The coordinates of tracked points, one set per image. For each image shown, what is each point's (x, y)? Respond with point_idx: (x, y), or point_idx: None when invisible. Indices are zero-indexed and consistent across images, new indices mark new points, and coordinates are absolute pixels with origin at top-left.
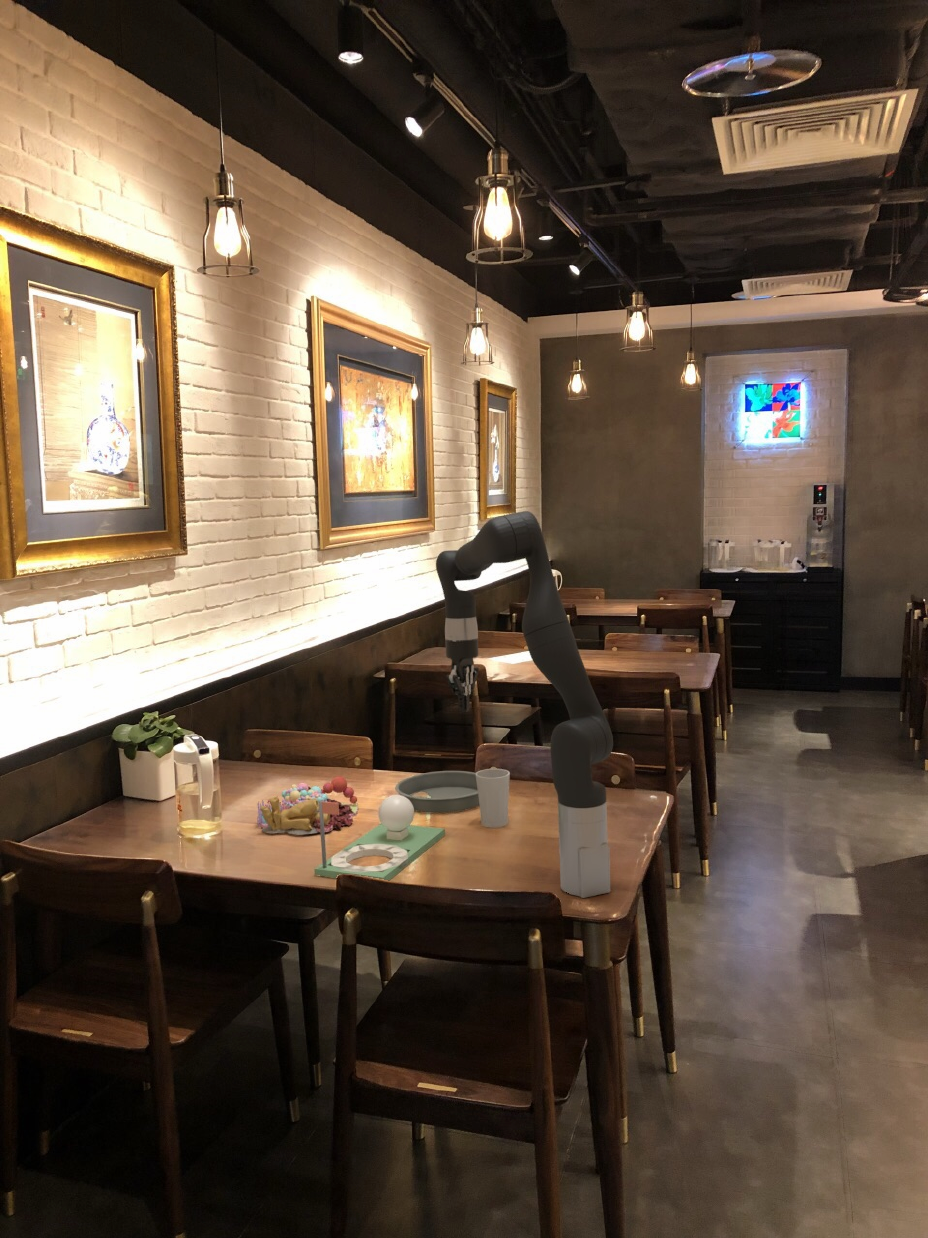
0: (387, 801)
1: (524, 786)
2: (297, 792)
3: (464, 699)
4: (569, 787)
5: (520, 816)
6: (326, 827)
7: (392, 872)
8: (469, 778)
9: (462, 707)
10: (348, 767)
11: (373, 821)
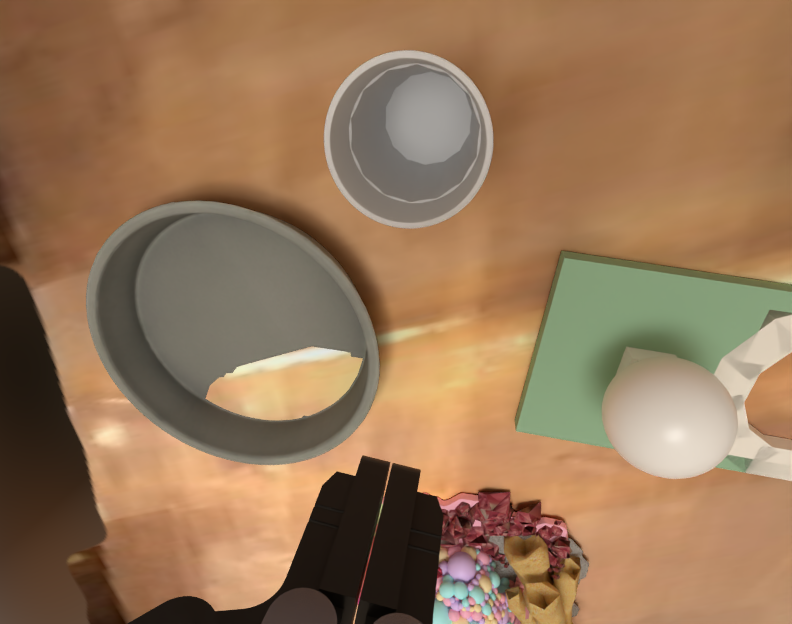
0: (712, 467)
1: (37, 109)
2: None
3: (413, 587)
4: None
5: (342, 36)
6: (560, 533)
7: None
8: (110, 294)
9: (438, 528)
10: (105, 568)
11: (460, 450)
